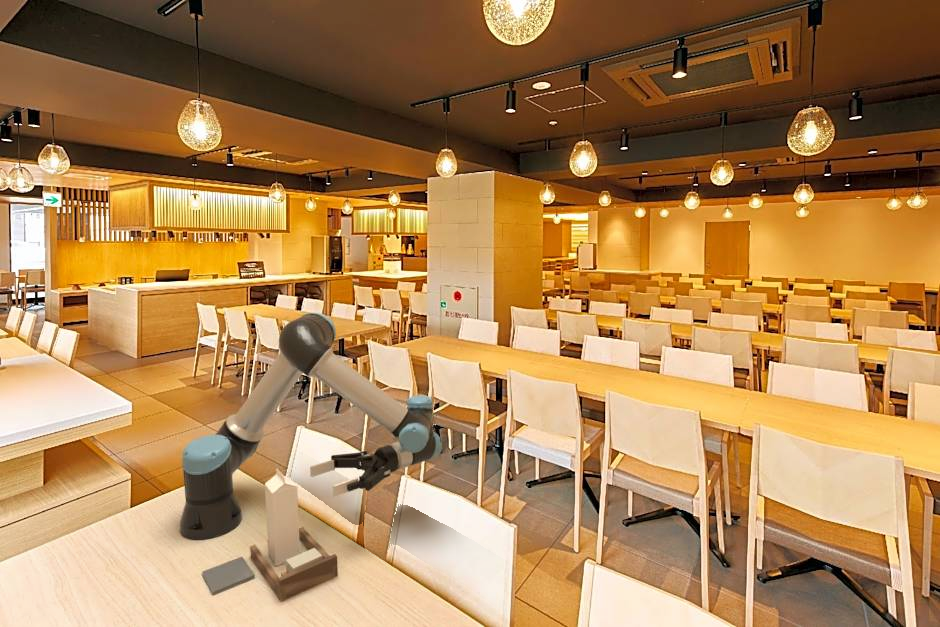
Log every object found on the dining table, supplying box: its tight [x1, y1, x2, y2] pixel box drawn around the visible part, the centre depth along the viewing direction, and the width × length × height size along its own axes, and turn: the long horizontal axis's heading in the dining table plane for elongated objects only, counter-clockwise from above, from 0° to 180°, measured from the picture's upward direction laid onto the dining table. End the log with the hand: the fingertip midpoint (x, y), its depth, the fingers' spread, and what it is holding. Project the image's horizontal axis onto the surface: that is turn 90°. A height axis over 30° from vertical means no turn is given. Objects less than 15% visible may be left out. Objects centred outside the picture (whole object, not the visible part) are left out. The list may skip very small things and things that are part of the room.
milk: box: [264, 468, 301, 567], centre depth 126 cm, size 6×6×22 cm
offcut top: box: [285, 548, 322, 573], centre depth 118 cm, size 4×7×3 cm, turn 133°
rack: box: [249, 526, 339, 602], centre depth 123 cm, size 20×13×5 cm
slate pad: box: [201, 556, 256, 596], centre depth 120 cm, size 9×9×1 cm
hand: (321, 481), depth 131 cm, fingers open, 13 cm apart
